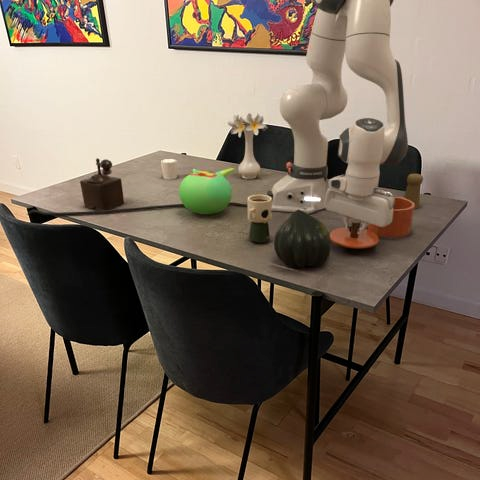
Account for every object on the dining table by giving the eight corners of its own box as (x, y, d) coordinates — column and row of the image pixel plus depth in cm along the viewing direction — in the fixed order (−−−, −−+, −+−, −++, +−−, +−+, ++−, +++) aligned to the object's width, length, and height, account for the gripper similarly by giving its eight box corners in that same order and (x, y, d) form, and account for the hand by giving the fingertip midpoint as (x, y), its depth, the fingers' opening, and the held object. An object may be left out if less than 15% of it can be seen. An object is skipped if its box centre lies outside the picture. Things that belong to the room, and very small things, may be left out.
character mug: (260, 249, 140) (260, 205, 133) (239, 244, 144) (239, 201, 137) (278, 236, 148) (279, 195, 141) (258, 232, 151) (258, 191, 144)
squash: (329, 261, 120) (332, 204, 122) (269, 260, 123) (273, 204, 125) (328, 276, 134) (331, 224, 136) (275, 274, 136) (278, 224, 139)
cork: (420, 209, 167) (426, 177, 161) (401, 208, 168) (407, 176, 162) (418, 203, 172) (424, 172, 166) (400, 202, 173) (405, 171, 167)
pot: (358, 236, 147) (361, 207, 143) (379, 218, 160) (383, 191, 155) (398, 245, 141) (403, 215, 136) (417, 226, 154) (422, 198, 149)
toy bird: (172, 217, 163) (168, 173, 155) (193, 201, 176) (191, 160, 169) (222, 223, 158) (220, 178, 150) (239, 206, 171) (239, 164, 163)
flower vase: (241, 170, 212) (241, 108, 198) (274, 177, 201) (275, 113, 188) (220, 176, 204) (218, 112, 190) (253, 184, 193) (253, 118, 179)
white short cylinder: (177, 179, 200) (176, 162, 196) (160, 180, 200) (159, 162, 196) (179, 175, 206) (178, 158, 202) (163, 175, 206) (161, 158, 202)
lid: (320, 242, 137) (322, 223, 134) (341, 227, 147) (343, 209, 143) (366, 254, 130) (369, 235, 127) (385, 237, 140) (388, 219, 137)
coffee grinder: (82, 207, 173) (72, 156, 163) (104, 198, 180) (96, 149, 171) (113, 215, 165) (105, 162, 156) (135, 206, 173) (129, 154, 164)
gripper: (402, 190, 125) (392, 239, 133) (337, 174, 138) (332, 220, 145) (389, 196, 122) (380, 246, 129) (323, 179, 134) (319, 226, 141)
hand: (354, 232), depth 137 cm, fingers closed on lid, 2 cm apart
